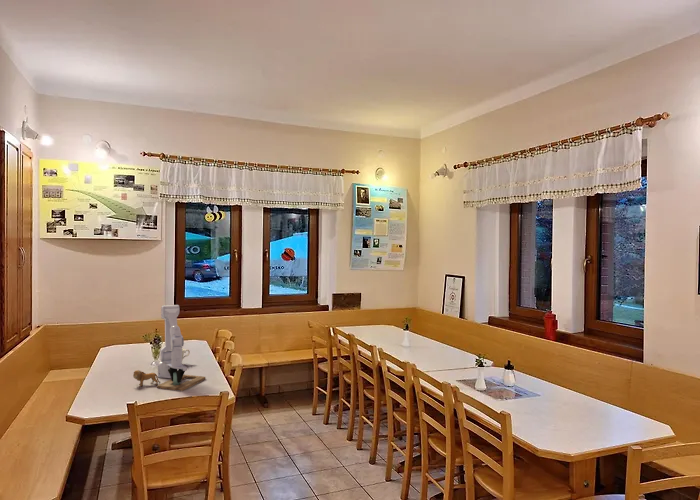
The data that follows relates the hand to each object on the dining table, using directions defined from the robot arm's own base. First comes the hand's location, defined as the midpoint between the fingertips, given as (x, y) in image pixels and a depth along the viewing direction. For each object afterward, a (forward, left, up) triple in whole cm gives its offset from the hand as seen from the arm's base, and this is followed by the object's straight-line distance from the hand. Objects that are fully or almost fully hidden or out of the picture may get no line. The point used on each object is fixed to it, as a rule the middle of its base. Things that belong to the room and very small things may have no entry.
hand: (176, 381), depth 279 cm
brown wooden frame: (0, +5, -3) cm, 6 cm away
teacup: (-27, +41, -3) cm, 50 cm away
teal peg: (0, 0, -2) cm, 2 cm away
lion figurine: (-17, -4, -3) cm, 18 cm away
